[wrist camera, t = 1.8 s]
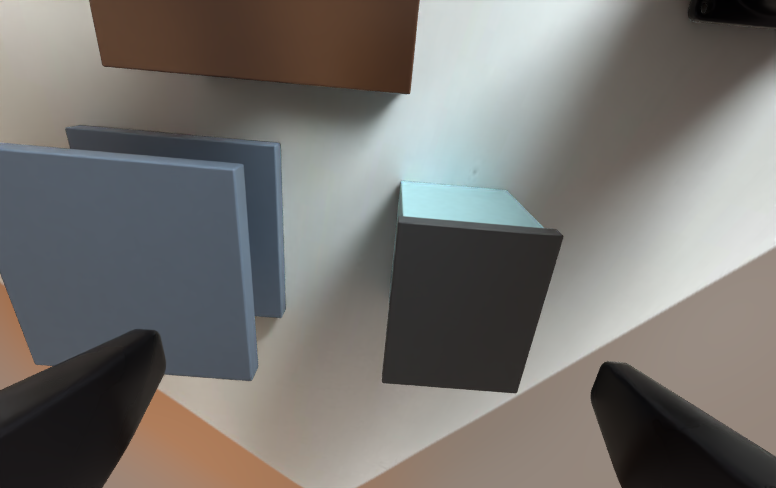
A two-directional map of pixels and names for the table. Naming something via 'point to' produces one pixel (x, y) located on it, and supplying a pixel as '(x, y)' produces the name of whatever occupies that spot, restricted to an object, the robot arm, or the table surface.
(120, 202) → the blue-grey square pedestal
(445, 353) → the container
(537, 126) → the table surface
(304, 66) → the brown square pedestal
